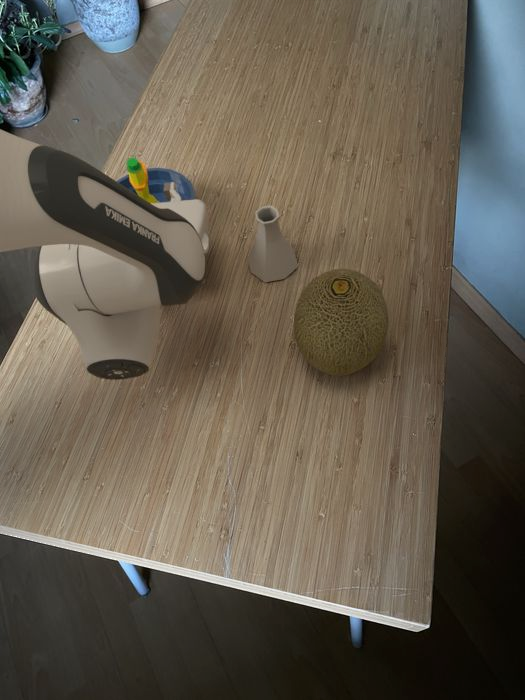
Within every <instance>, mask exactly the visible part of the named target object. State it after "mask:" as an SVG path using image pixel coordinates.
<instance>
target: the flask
mask: <svg viewBox="0 0 525 700" xmlns="http://www.w3.org/2000/svg"><path fill="white" fill-rule="evenodd" d="M254 215H255V219H256V222H257V223H258V226H257V232H256V235H255V238H254V241H253V243H252V245H251V248H250V250H249V253H248V255H247V260H248V267H249V271H250V273H251V274H252V275H254V276H255V277H257V278H258V279H259V280H260V281H262V282H263V283H268V282H269V283H270V282H276V281H279V280H285V279H286V278H287V277H289V276H290V275H291V274H292V273H293V272H295V271H296V269H298V268H299V264H298V260H297V255H296V251H295V250H294V248H293V247H292V245H291V244H290V242H289V241H288V240H287V238H286V236H285V235H284V233H283V231H282V229H281V228H280V225H279V221H280V219H281V215H280V211H279V208H277V207H275V206H274V205H272V204H268V205H264V206H261V207H259V208H258V209H257V210H256V211H255V212H254Z"/></svg>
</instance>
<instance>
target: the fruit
mask: <svg viewBox="0 0 525 700" xmlns="http://www.w3.org/2000/svg"><path fill="white" fill-rule="evenodd" d="M299 295H300V296H299V297H298V299H297V302H296V307H295V311H294V317H293V333H294V340H295V341H296V344H297V347H298V349H299V352H300V353H301V354H302V356H303V358H304V359H305V360H306V361H307V362H308V364H309V365H310V366H311V367H313V368H314V369H316V370H318V371H320V372H322V373H324V374H326V375H331V376H335V377H341V376H342V377H344V376H348V375H351V374H354V373H356V372H358V371H360V370H361V369H364V368H365V367H366V366H368V365H369V364H370V363H371V362H373V360H375V359H376V357H378V355H379V354H380V352H381V351H382V349H383V346H384V344H385V340H386V338H387V334H388V328H389V324H390V323H389V310H388V307H387V303H386V300H385V297H384V295H383V292H382V290H381V289H380V287H379V286H378V285H377V283H376V282H374V280H372V279H371V278H370V277H369V276H368V275H366V274H364V273H362V272H361V271H358V270H354V269H350V268H335V269H331V270H328V271H325V272H323V273H321V274H319V275H317V276H315V277H314V278H312V279H311V281H310V282H309V283H308V284H307V285H305V287H304V289H303V290H302V292H301V293H300V294H299Z"/></svg>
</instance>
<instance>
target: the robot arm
mask: <svg viewBox="0 0 525 700" xmlns="http://www.w3.org/2000/svg"><path fill="white" fill-rule="evenodd" d="M117 181H118V180H115V179H113V178H112V177H110V176H109V175H107V174H106V173H104V172H103V171H101V170H100V169H98V168H96V167H95V166H93V165H91V164H90V163H88V162H87V161H84V160H83V159H81V158H79V157H78V156H76V155H74V154H71V153H69V152H65V151H62V150H60V149H57V148H54V147H51V146H48V145H43V144H40V143H37V142H34V141H31V140H28V139H26V138H23V137H20V136H17V135H15V134H12V133H10V132H8V131H5V130H3V129H1V128H0V253H4V252H9V251H17V250H23V249H29V248H37V247H38V248H37V250H36V253H35V256H34V259H33V264H32V272H31V273H32V274H31V283H32V289H33V293H34V296H35V298H36V300H37V302H38V303H39V304H40V305H41V306H42V307H43V309H45V310H46V311H47V312H49V314H51V315H53V316H54V317H55V318H56V319H58V320H59V321H60V322H62V323H63V324H64V325H66V326H67V327H68V328H69V330H70V332H71V333H72V335H73V336H74V338H75V340H76V341H77V344H78V347H79V349H80V354H81V360H82V364H83V368H84V369H85V371H86V372H87V373H89V374H90V375H92V376H94V377H96V378H99V379H103V380H112V381H119V380H128V379H133V378H137V377H141V376H143V375H145V374H147V373H148V372H149V371H150V370H151V368H152V366H153V364H154V362H155V357H156V354H157V349H158V344H159V338H160V330H161V320H162V311H161V307H160V306H162V307H169V306H178V305H186V304H188V302H189V301H190V300H191V299H192V298H193V296H194V295H195V294H196V293H197V291H198V290H199V289H200V286H202V284H203V282H204V280H205V277H206V276H207V275H206V274H207V259H206V255H207V254H208V253H209V251H210V245H211V243H210V242H211V241H210V240H211V238H210V237H209V235H208V233H209V228H210V227H209V226H210V217H209V212H208V207H207V205H206V203H205V202H203V200H201V199H199V198H197V199H194V200H184V201H182V200H181V197H180V196H179V194H178V193H177V189H176V185H175V182H170V183H164V190H163V191H164V194H165V197H166V200H171V202H161V203H149V202H147V201H146V200H144V199H143V198H141V197H140V196H138V195H137V194H135V193H134V192H132V191H130V190H129V189H127V188H126V187H124V186H123V185H121V184H120V183H118V182H117Z"/></svg>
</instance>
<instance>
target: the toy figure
mask: <svg viewBox="0 0 525 700" xmlns="http://www.w3.org/2000/svg"><path fill="white" fill-rule="evenodd" d="M146 169H147V167H146V165H145V164H144V162H143V161H141V160H138V159H137V158H136V157H130V158H128V159H127V161H126V171H127V173H128V174H129V181H130V183H131V184H132V186H133V187H134V188H135V190H136V192H137V194H138V196H140V197H141V198H143V199H144V200H146V201H147V202H149V203H160V202H159V201H157V200H156V199H155V197H154V196H153V195H150V194H149V189H148V183H147V182H148V175H147V170H146ZM128 174H127V175H128Z"/></svg>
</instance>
